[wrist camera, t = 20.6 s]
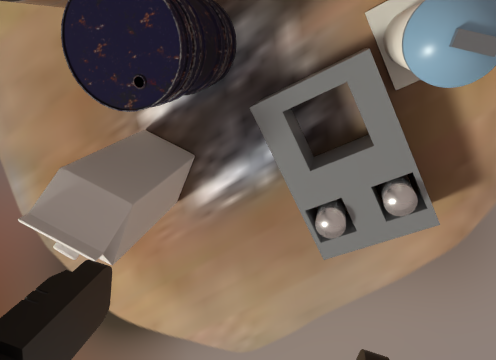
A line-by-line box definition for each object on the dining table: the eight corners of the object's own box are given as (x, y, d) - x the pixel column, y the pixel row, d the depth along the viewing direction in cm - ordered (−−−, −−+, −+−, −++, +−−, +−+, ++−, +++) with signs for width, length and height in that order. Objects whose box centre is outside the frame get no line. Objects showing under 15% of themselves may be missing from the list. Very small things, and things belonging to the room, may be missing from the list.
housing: (259, 100, 42) (249, 107, 37) (366, 47, 38) (369, 48, 33) (325, 237, 46) (323, 259, 41) (429, 204, 41) (440, 224, 37)
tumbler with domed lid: (372, 60, 37) (391, 75, 23) (393, -2, 35) (428, -27, 21) (430, 75, 36) (487, 99, 22) (455, 12, 34) (535, -5, 20)
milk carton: (144, 128, 46) (24, 183, 29) (196, 155, 46) (106, 225, 28) (128, 177, 49) (11, 253, 32) (177, 202, 49) (85, 293, 31)
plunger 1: (314, 196, 44) (310, 217, 39) (339, 187, 43) (338, 207, 38) (325, 219, 44) (322, 242, 39) (349, 210, 43) (350, 233, 38)
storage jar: (136, 21, 42) (35, 13, 28) (210, -27, 39) (136, -63, 25) (179, 104, 44) (105, 133, 30) (253, 65, 41) (207, 79, 27)
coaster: (364, 12, 37) (365, 12, 36) (429, -21, 34) (430, -22, 34) (395, 89, 38) (395, 90, 38) (458, 61, 36) (460, 62, 36)
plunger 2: (374, 174, 41) (378, 193, 36) (402, 164, 40) (410, 182, 35) (384, 198, 42) (390, 220, 37) (412, 188, 41) (422, 210, 36)
